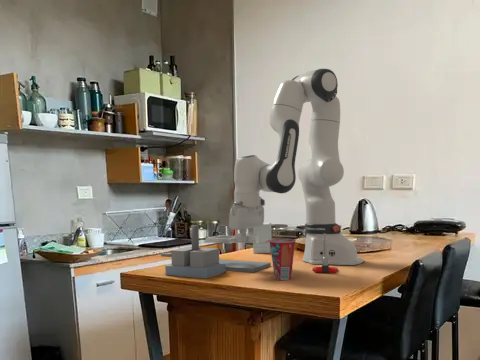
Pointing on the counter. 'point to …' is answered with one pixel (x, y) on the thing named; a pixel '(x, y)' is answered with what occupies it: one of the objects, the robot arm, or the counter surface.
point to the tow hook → (325, 261)
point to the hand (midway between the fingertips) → (247, 240)
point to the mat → (244, 265)
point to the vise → (194, 260)
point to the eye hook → (233, 239)
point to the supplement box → (263, 238)
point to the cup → (282, 257)
